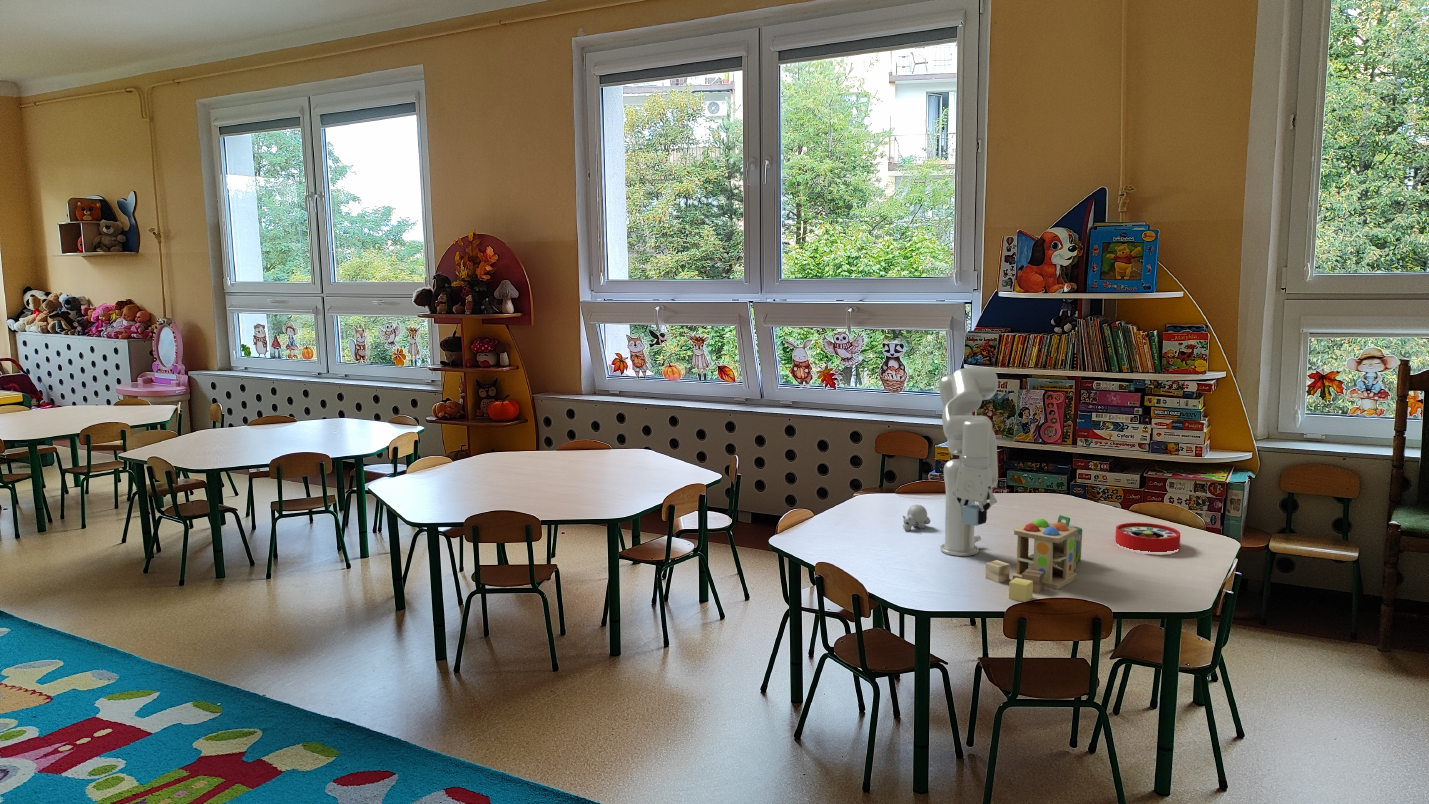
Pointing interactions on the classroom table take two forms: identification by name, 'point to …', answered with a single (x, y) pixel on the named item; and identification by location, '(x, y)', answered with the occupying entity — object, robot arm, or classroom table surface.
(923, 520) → the chubby cartoon animal
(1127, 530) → the toy clock
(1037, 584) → the walnut cube
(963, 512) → the slate-blue cube
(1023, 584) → the mustard cube
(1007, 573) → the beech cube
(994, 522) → the classroom table surface
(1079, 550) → the chalk box
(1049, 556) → the pounding bench toy
